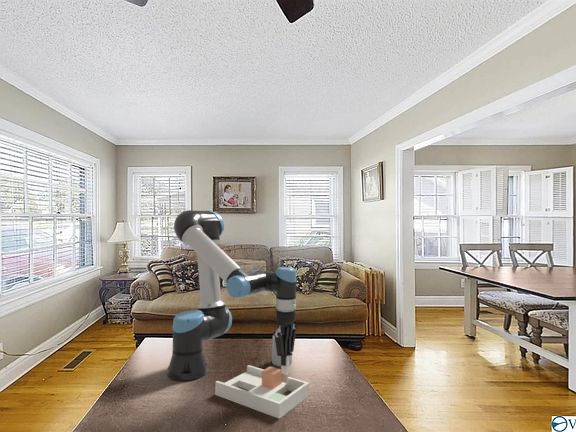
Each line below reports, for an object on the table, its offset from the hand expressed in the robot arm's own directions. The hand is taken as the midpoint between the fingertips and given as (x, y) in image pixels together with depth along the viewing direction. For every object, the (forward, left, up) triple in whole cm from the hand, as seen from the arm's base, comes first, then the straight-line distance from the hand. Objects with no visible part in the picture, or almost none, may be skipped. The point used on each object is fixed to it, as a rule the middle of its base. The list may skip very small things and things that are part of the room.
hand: (285, 373), depth 136 cm
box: (-2, -12, -4) cm, 13 cm away
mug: (-13, +18, -4) cm, 23 cm away
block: (0, -8, -1) cm, 8 cm away
